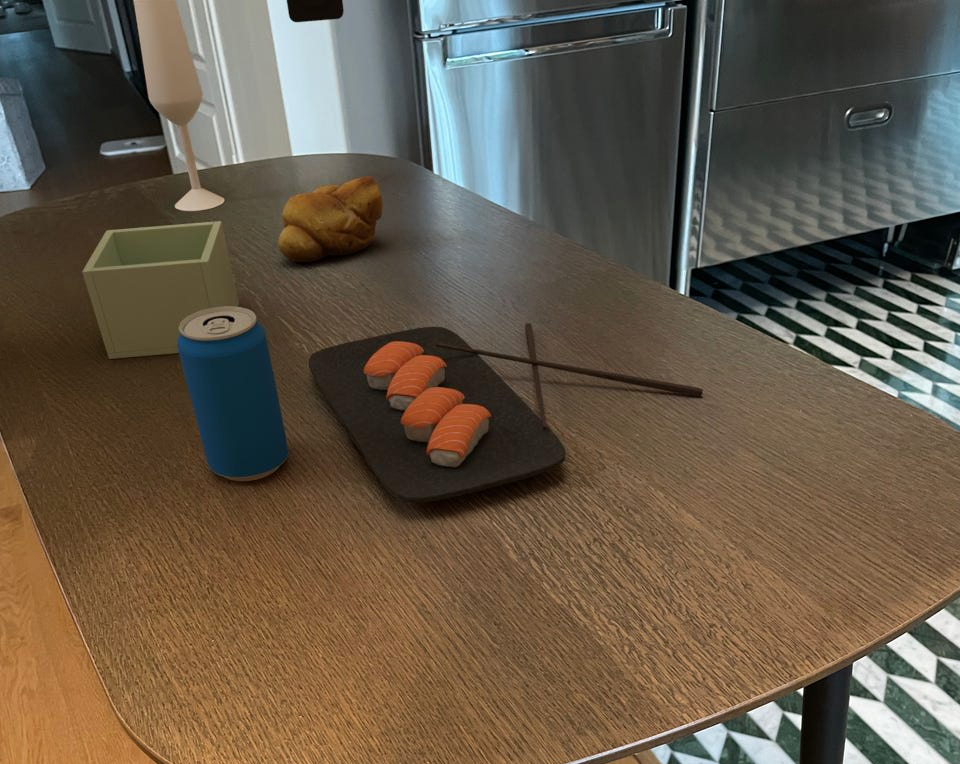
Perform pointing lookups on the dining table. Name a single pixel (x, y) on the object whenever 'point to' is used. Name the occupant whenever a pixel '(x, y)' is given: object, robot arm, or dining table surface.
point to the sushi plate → (443, 412)
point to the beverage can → (233, 392)
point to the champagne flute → (172, 84)
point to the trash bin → (156, 284)
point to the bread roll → (331, 220)
